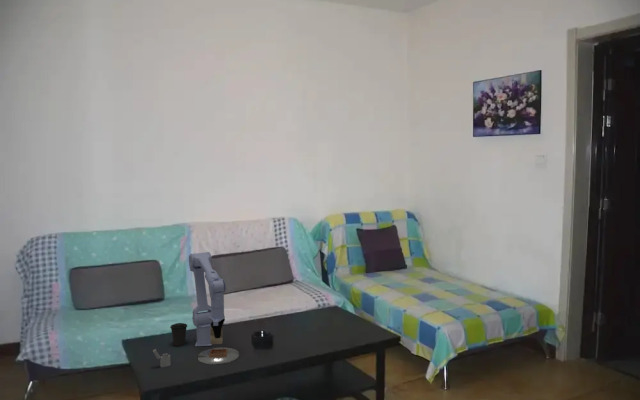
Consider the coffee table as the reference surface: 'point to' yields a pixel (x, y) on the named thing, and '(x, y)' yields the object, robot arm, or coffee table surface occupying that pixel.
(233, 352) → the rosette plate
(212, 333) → the wood grain block
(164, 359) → the lighter
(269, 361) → the coffee table surface
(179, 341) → the coffee cup
